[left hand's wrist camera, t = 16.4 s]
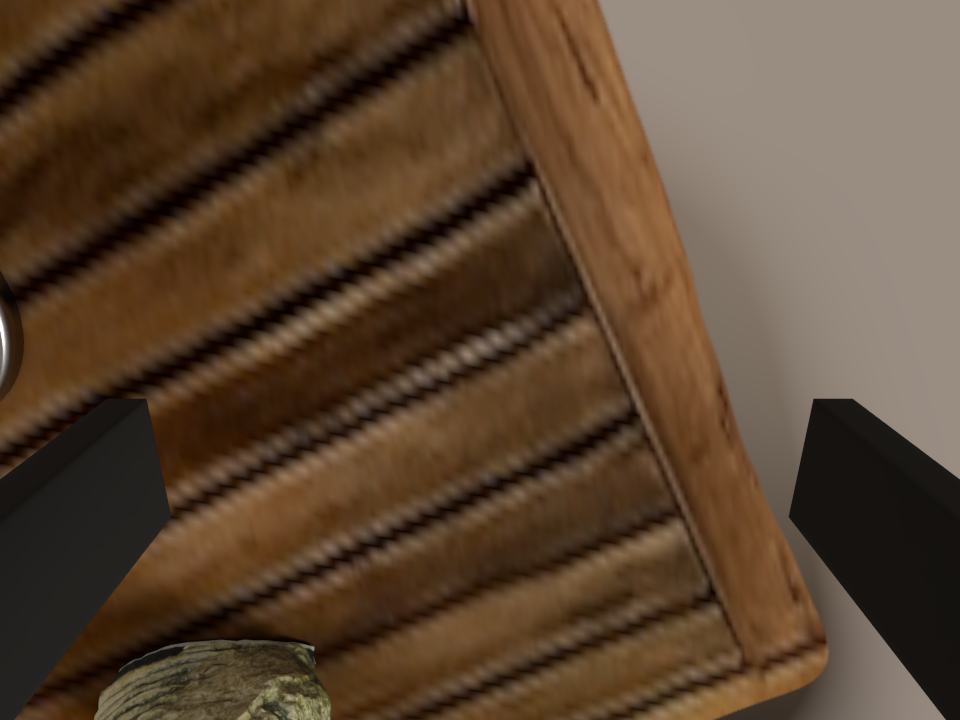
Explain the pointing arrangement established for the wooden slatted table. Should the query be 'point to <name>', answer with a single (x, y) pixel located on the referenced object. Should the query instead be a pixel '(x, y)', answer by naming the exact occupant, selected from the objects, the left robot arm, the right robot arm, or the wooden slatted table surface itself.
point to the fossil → (218, 684)
